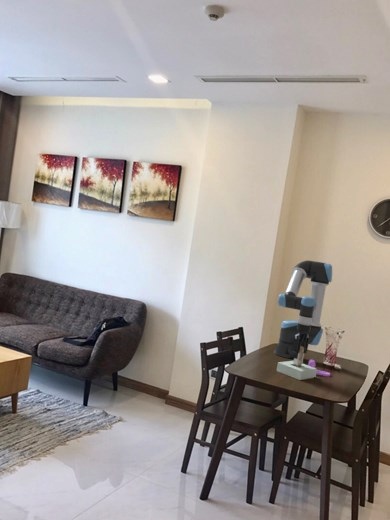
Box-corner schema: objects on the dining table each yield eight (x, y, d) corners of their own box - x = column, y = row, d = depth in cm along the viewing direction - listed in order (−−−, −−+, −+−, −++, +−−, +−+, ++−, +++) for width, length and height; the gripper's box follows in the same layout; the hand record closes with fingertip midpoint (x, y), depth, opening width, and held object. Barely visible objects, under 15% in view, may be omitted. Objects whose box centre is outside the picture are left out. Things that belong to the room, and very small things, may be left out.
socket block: (292, 368, 286) (294, 360, 286) (315, 377, 275) (317, 368, 274) (276, 370, 275) (277, 362, 275) (299, 380, 264) (301, 371, 263)
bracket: (307, 372, 283) (309, 361, 283) (307, 370, 289) (309, 359, 288) (330, 377, 281) (332, 365, 280) (329, 374, 286) (331, 363, 286)
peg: (295, 369, 278) (299, 345, 277) (301, 371, 275) (305, 347, 274) (291, 369, 275) (295, 346, 274) (297, 372, 272) (301, 348, 271)
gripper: (307, 322, 282) (300, 360, 283) (290, 322, 270) (283, 362, 272) (318, 325, 276) (311, 364, 278) (301, 325, 265) (294, 367, 266)
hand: (297, 363), depth 275 cm, fingers closed on peg, 4 cm apart
